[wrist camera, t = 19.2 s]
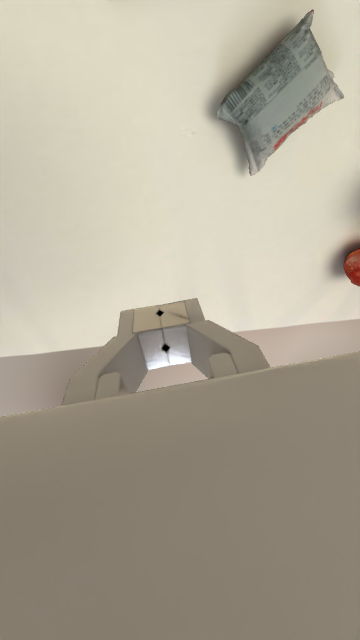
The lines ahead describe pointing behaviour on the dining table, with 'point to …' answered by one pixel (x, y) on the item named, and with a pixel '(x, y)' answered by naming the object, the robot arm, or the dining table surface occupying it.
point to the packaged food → (280, 94)
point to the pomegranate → (353, 267)
